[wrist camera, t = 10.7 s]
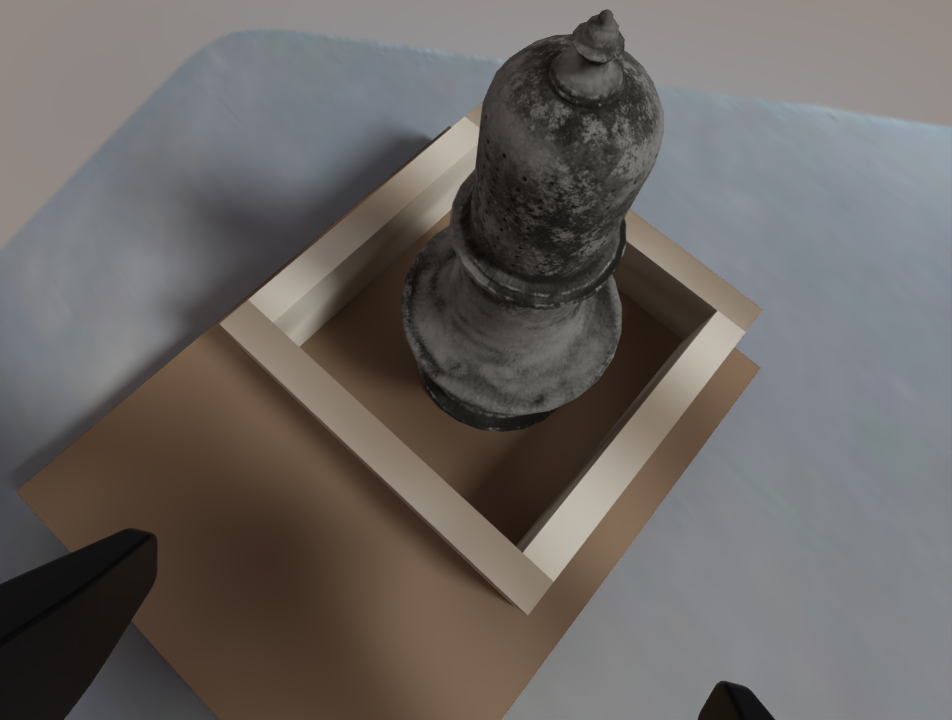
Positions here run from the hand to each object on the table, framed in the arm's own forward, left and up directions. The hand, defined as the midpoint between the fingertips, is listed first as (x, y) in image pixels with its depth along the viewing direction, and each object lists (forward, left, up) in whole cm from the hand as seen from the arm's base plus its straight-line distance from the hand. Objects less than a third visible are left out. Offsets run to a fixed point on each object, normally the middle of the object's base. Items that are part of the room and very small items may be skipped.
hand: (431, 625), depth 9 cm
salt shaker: (+7, +3, -7) cm, 11 cm away
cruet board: (+3, +4, -8) cm, 10 cm away
